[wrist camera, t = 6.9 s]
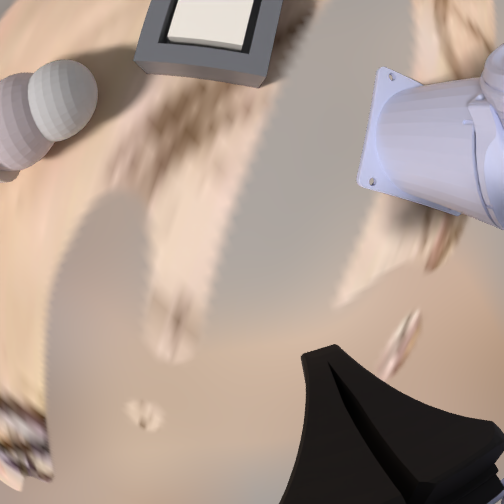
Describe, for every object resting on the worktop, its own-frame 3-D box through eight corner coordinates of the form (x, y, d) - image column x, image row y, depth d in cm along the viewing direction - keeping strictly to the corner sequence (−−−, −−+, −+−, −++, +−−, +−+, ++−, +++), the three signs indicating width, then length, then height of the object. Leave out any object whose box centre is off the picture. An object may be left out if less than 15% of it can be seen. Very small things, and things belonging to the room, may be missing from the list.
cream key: (253, -3, 12) (256, -12, 11) (240, 52, 13) (242, 45, 12) (187, -11, 11) (185, -21, 10) (170, 43, 12) (167, 36, 11)
